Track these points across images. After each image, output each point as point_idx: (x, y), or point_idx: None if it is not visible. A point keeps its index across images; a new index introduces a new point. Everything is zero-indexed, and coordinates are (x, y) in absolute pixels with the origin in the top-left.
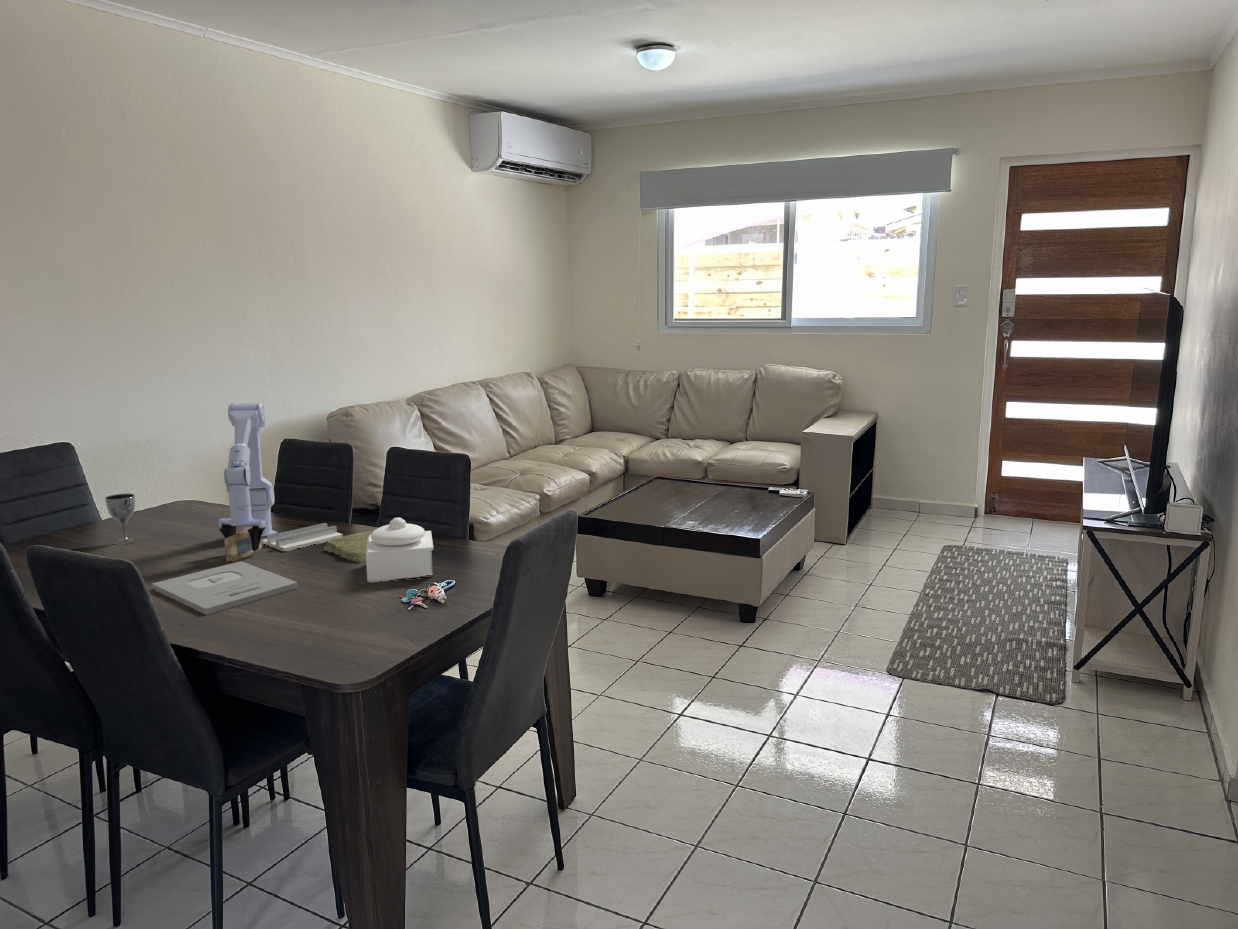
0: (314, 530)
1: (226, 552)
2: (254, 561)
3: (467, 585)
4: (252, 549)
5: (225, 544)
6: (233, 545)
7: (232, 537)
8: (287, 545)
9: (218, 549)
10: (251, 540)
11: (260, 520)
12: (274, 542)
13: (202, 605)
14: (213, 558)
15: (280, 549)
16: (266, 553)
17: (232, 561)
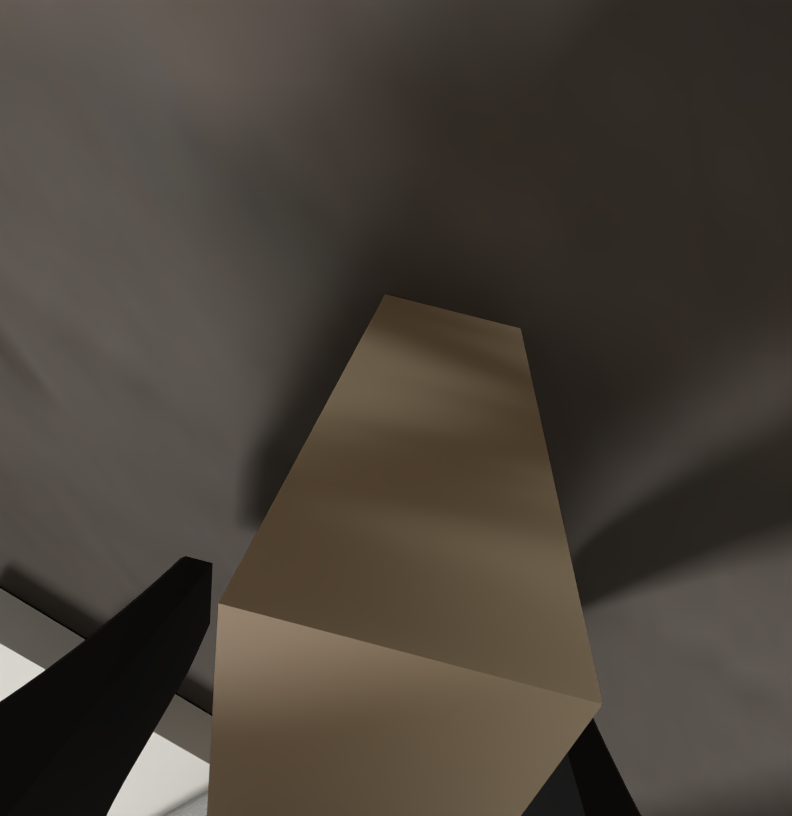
0: None
1: (518, 398)
2: (90, 293)
3: None
4: (199, 576)
5: (543, 523)
6: (299, 471)
7: (352, 800)
8: (4, 689)
9: (753, 769)
10: (84, 704)
11: None
12: (194, 778)
13: None
14: (774, 496)
15: (63, 642)
16: (156, 579)
17: (415, 304)
